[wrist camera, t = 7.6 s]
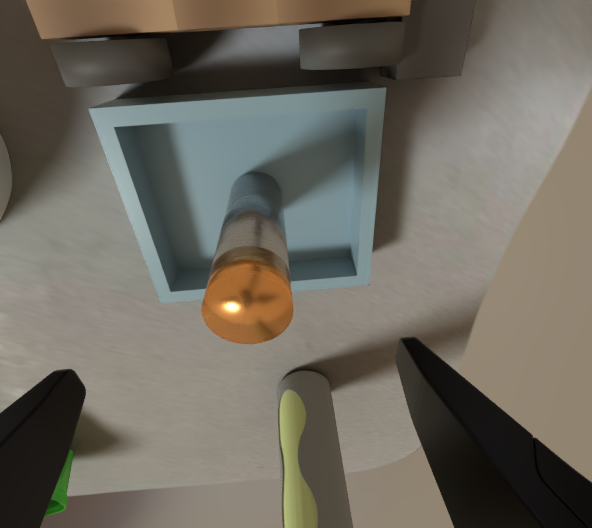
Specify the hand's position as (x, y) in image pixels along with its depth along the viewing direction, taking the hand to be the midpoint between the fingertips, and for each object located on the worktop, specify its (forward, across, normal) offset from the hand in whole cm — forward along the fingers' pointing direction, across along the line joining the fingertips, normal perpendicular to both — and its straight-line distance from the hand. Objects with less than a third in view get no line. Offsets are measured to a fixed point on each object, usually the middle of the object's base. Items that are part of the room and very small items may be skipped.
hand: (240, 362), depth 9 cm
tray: (+13, 0, 0) cm, 13 cm away
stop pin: (+12, 0, 0) cm, 12 cm away
